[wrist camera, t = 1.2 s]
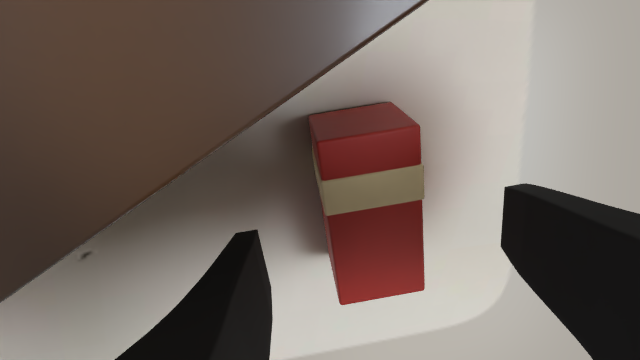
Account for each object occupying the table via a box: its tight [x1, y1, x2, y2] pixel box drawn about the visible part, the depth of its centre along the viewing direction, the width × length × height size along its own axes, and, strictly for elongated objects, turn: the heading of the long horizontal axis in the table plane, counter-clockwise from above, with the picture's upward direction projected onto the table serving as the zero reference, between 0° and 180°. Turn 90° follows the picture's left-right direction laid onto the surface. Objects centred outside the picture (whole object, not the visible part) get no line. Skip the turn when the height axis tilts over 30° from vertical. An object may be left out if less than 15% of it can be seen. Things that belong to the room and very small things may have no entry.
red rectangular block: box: [308, 102, 424, 305], centre depth 13 cm, size 6×3×3 cm, turn 8°
